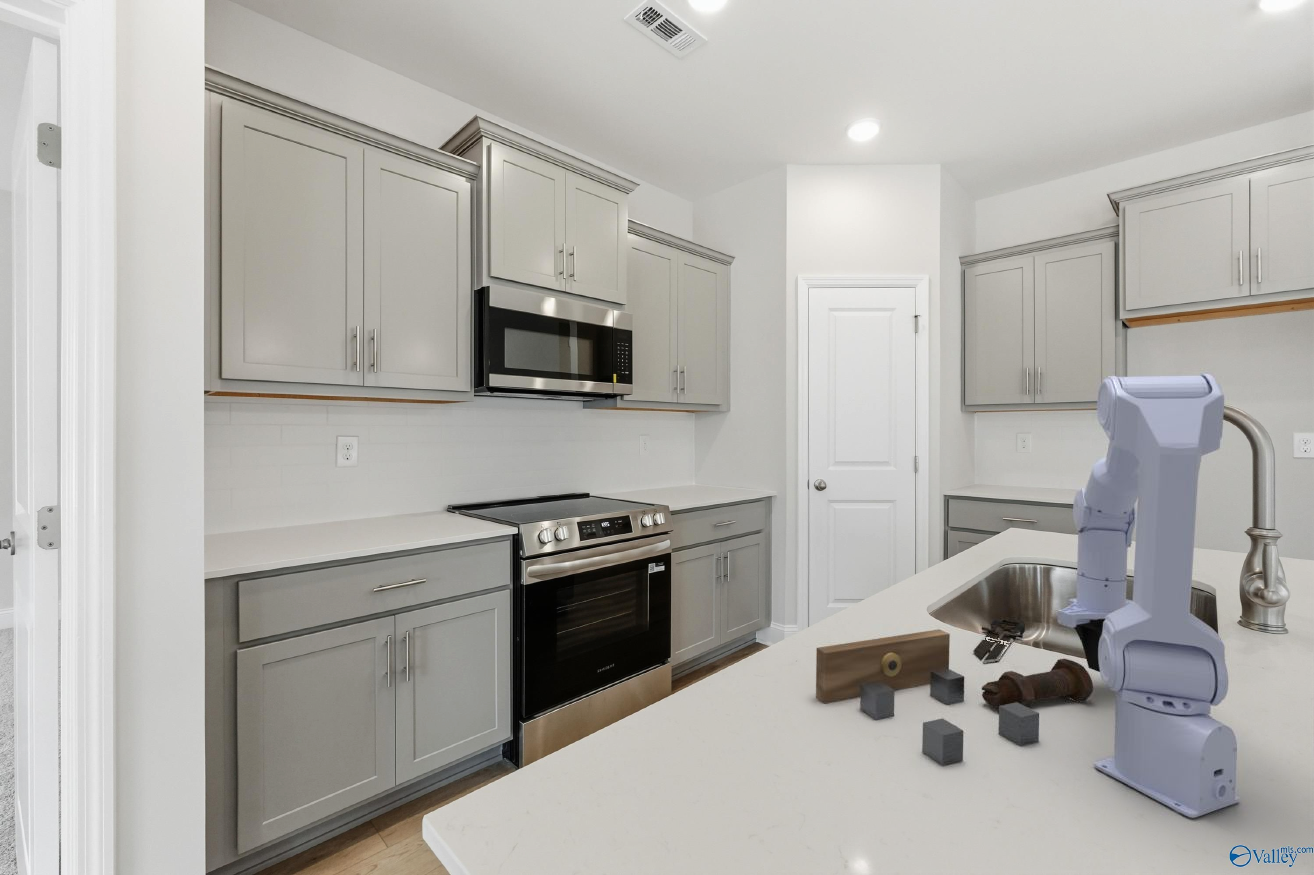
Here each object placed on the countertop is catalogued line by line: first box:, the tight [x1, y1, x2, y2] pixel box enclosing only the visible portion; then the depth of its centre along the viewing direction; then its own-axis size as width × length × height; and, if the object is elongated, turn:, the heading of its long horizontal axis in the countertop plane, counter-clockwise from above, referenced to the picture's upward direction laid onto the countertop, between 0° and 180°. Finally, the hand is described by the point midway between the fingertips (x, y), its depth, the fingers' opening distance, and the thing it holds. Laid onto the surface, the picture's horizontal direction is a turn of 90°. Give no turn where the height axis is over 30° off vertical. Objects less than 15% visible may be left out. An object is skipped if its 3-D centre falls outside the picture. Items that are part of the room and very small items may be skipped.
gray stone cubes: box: [859, 668, 1040, 767], centre depth 77 cm, size 14×15×4 cm
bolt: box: [981, 658, 1094, 708], centre depth 83 cm, size 6×5×15 cm
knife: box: [972, 617, 1026, 664], centre depth 106 cm, size 25×6×1 cm, turn 135°
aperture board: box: [815, 629, 951, 705], centre depth 87 cm, size 3×22×7 cm, turn 110°
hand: (1098, 669), depth 87 cm, fingers closed
